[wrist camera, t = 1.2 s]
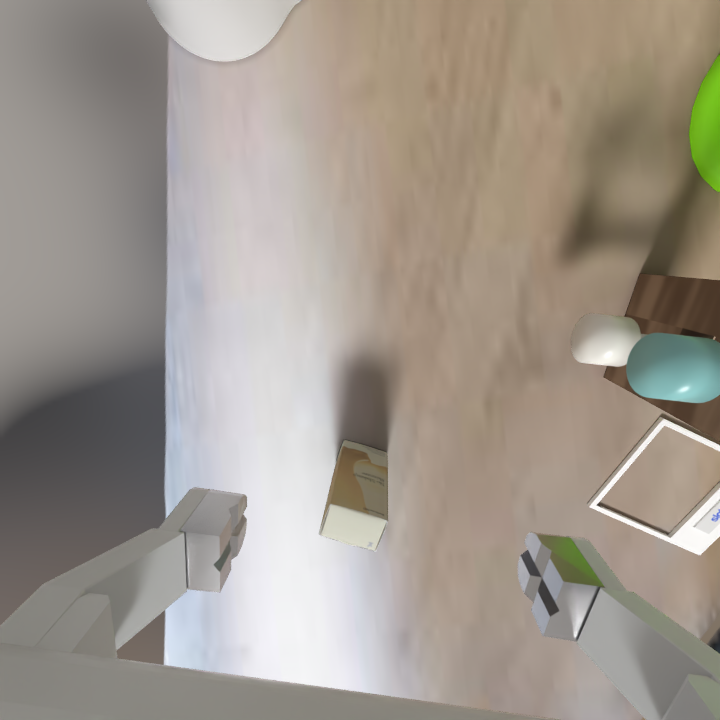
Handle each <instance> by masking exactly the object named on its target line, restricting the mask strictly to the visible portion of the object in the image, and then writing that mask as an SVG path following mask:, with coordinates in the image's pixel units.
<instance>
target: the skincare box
mask: <svg viewBox="0 0 720 720" xmlns="http://www.w3.org/2000/svg"><path fill="white" fill-rule="evenodd" d="M387 523H388V455H387V453H386V452H384V451H381V450H378V449H375V448H372V447H368V446H365V445H362V444H358V443H355V442H351V441H347V440H344V441H343V444H342V447H341V449H340V452H339V455H338V458H337V461H336V465H335V469H334V473H333V477H332V482H331V486H330V490H329V494H328V498H327V502H326V507H325V511H324V515H323V519H322V523H321V527H320V531H319V535H320V536H323V537H326V538H330V539H333V540H337V541H340V542H342V543H345V544H348V545H353V546H357V547H360V548H364V549H367V550H370V551H373V552H376V550H377V547H378V545H379V543H380V541H381V538H382V536H383V534H384V531H385V529H386V526H387Z"/></svg>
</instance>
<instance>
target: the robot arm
mask: <svg viewBox="0 0 720 720" xmlns="http://www.w3.org/2000/svg"><path fill="white" fill-rule="evenodd" d="M146 1H147V3H148V5H149V7H150V8H151V10H152V12H153V13H154V15H155V17H156V18H157V20H158V21H159V23H160V24H161V25H162V27H163V28H164V29H165V30H166V32H167V33H168V34H169V35H170V36H171V37H172V38H173V39H174V40H175V41H176V42H177V43H178V44H180V45H181V46H182V47H183V48H185V49H186V50H188V51H190V52H191V53H193V54H195V55H197V56H200V57H202V58H205V59H209V60H213V61H235V60H239V59H243V58H246V57H248V56H250V55H252V54H254V53H256V52H257V51H259V50H260V49H262V48H263V47H264V46H265V45H266V44H267V43H269V42H270V40H271V39H272V38H273V37H274V36H275V35H276V33H277V32H278V31H279V29H280V28H281V26H282V24H283V23H284V21H285V19H286V17H287V16H288V14H289V12H290V11H291V10H292V8H293V7H294V6H295V5H296V4H297V3H299V2H300V1H302V0H146ZM246 507H247V497H246V495H244V494H238V493H231V492H225V491H219V490H210V489H204V488H197V487H194V488H192V489H190V490H189V491H188V493H187V494H186V495H185V496H184V498H183V499H182V500H181V501H180V502H179V504H178V505H177V506H176V507H175V509H174V510H173V511H172V512H171V513H170V515H169V516H168V517H167V518H166V520H165V521H164V522H163V524H162V525H161V526H160V527H159V528H158V529H153V528H152V529H150V530H148V531H146V532H144V533H143V534H140V535H139V536H137V537H135V538H133V539H131V540H129V541H127V542H125V543H123V544H121V545H119V546H117V547H115V548H113V549H111V550H109V551H107V552H105V553H103V554H101V555H99V556H97V557H95V558H93V559H91V560H90V561H88V562H86V563H84V564H82V565H80V566H78V567H76V568H74V569H72V570H70V571H68V572H66V573H64V574H62V575H60V576H58V577H56V578H54V579H52V580H51V581H48V582H47V583H45V584H43V585H42V586H41V587H40V588H39V589H38V590H36V591H35V593H33V594H32V596H31V597H29V598H28V599H27V600H26V601H25V602H24V603H23V604H22V605H21V606H20V607H19V608H18V609H17V610H16V611H15V612H14V613H13V614H12V615H11V616H10V617H9V618H8V619H7V620H6V621H5V622H4V623H3V624H2V625H1V626H0V720H559V719H552V718H545V717H537V716H530V715H523V714H515V713H508V712H500V711H493V710H486V709H478V708H471V707H464V706H456V705H449V704H442V703H435V702H427V701H420V700H413V699H406V698H399V697H391V696H384V695H377V694H370V693H363V692H355V691H348V690H341V689H334V688H327V687H319V686H312V685H305V684H298V683H290V682H283V681H276V680H268V679H261V678H254V677H247V676H239V675H232V674H225V673H218V672H210V671H203V670H196V669H189V668H181V667H174V666H167V665H159V664H151V663H144V662H138V661H130V660H123V659H117V652H116V650H117V649H119V648H120V647H121V646H122V645H123V644H125V643H126V642H127V641H128V640H129V639H131V638H132V637H133V636H134V635H135V634H137V633H138V632H139V631H140V630H141V629H142V628H144V627H145V626H146V625H147V624H148V623H150V622H151V621H152V620H153V619H154V618H156V617H157V616H158V615H159V614H160V613H162V612H163V611H164V610H165V609H166V608H168V607H169V606H170V605H171V604H172V603H174V602H175V601H176V600H177V599H178V598H180V597H181V596H182V595H183V594H184V593H185V592H187V589H190V590H199V591H209V592H219V593H220V592H221V589H222V587H223V585H224V583H225V581H226V579H227V577H228V575H229V573H230V570H231V560H232V559H233V558H234V557H236V556H237V555H238V553H239V551H240V549H241V547H242V544H243V540H244V537H245V532H246V522H247V519H246V518H245V516H244V515H243V513H244V511H245V509H246ZM525 545H526V547H527V549H528V550H527V551H525V552H524V553H523V554H521V555H520V559H519V562H518V577H519V581H520V585H521V587H522V590H523V592H524V594H525V595H526V596H527V597H528V598H529V599H530V600H531V601H533V605H532V609H531V611H532V613H533V615H534V617H535V620H536V622H537V624H538V626H539V629H540V631H541V633H542V635H543V636H545V637H551V638H557V639H564V640H570V641H576V642H577V645H578V646H579V647H580V648H581V649H582V650H583V651H584V652H585V653H586V654H587V656H588V657H589V658H590V659H591V660H592V661H593V662H594V663H595V664H596V665H597V667H598V668H599V669H600V670H601V671H602V672H603V673H604V674H605V675H606V676H607V678H608V679H609V680H610V681H611V682H612V683H613V684H614V685H615V686H616V687H617V688H618V690H619V691H620V692H621V693H622V694H623V695H624V696H625V697H626V698H627V699H628V701H629V702H630V703H631V704H632V705H633V706H634V707H635V708H636V709H637V710H638V712H639V713H640V714H641V715H642V716H643V717H644V718H645V719H646V720H720V654H719V653H718V652H716V651H715V650H713V649H712V648H711V647H709V646H708V645H706V644H705V643H703V642H702V641H701V640H699V639H698V638H697V637H695V636H694V635H692V634H691V633H690V632H688V631H687V630H685V629H684V628H683V627H681V626H680V625H679V624H677V623H676V622H674V621H673V620H672V619H670V618H669V617H667V616H666V615H665V614H663V613H662V612H660V611H659V610H658V609H656V608H655V607H653V606H652V605H651V604H649V603H648V602H646V601H645V600H644V599H642V598H641V597H640V596H638V595H637V594H635V593H634V592H629V591H627V590H626V589H625V587H624V586H623V585H622V584H621V582H620V581H619V580H618V578H617V577H616V576H615V574H614V573H613V572H612V570H611V569H610V568H609V566H608V565H607V564H606V562H605V561H604V560H603V558H602V557H601V556H600V554H599V553H598V552H597V550H596V549H595V548H594V546H593V545H592V544H591V542H590V541H588V540H587V539H585V538H580V537H571V536H559V535H551V534H543V533H535V532H530V533H529V534H528V535H527V537H526V540H525Z"/></svg>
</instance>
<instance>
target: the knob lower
mask: <svg viewBox="0 0 720 720" xmlns="http://www.w3.org/2000/svg"><path fill="white" fill-rule="evenodd" d="M646 335H647V334H641V332H640V328H639V326H638V324H637V323H636V321H635V320H633V319H632V318H629V317H622V316H613V315H604V314H595V313H589V314H586V315H584V316H583V317H582V318H581V319H580V320H579V321H578V322H577V324H576V325H575V327H574V330H573V333H572V337H571V351H572V354H573V356H574V358H575V359H576V360H577V361H578V362H581V363H588V364H597V365H606V366H615V367H620V366H624V365H626V364H627V360H628V356H629V354H630V352H631V350H632V348H633V347H634V345H635V344H636V343H637V342H638V341H639V340H640V339H641V338H643V337H644V336H646Z"/></svg>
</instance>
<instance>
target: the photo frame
mask: <svg viewBox="0 0 720 720" xmlns="http://www.w3.org/2000/svg"><path fill="white" fill-rule="evenodd" d="M664 425H665V426H667V427H669V428H671V429H674V430H676V431H678V432H680V433H682V434H684V435H686V436H688V437H691V438H693V439H695V440H697V441H699V442H701V443H703V444H705V445H707V446H710V447H712V448H714V449H716V450H718V451H720V445H719V444H716V443H714V442H712V441H710V440H708V439H706V438H704V437H702V436H700V435H697V434H695V433H693V432H691V431H689V430H687V429H685V428H683V427H681V426H679V425H676V424H674V423H672V422H670V421H668V420H666V419H664V418H662V417H659V419H658V420H657V421H656V422H655V423H654V425H653V426H652V427H651V428H650V429H649V431H648V432H647V433H646V434H645V435H644V437H643V438H642V439H641V440H640V441H639V443H638V444H637V445H636V446H635V447H634V449H633V450H632V451H631V452H630V453H629V454H628V456H627V457H626V458H625V459H624V460H623V462H622V463H621V464H620V465H619V466H618V468H617V469H616V470H615V471H614V472H613V474H612V475H611V476H610V477H609V478H608V480H607V481H606V482H605V483H604V484H603V486H602V487H601V488H600V489H599V490H598V492H597V493H596V494H595V495H594V496H593V498H592V499H591V500H590V501H589V502H588V503H587V505H588V506H589V507H590V508H592V509H595V510H597V511H599V512H601V513H604V514H606V515H608V516H611V517H613V518H615V519H617V520H620V521H622V522H624V523H627V524H629V525H631V526H633V527H636V528H638V529H640V530H643V531H645V532H647V533H649V534H652V535H654V536H656V537H659V538H661V539H663V540H665V541H668V542H670V543H672V544H675V545H677V546H679V547H681V548H684V549H686V550H688V551H691V552H693V553H695V554H697V555H701V554H702V553H703V552H704V551H705V550H706V549H707V548H708V547H709V546H710V545H711V544H712V543H713V542H714V541H715V540H716V539H717V538H718V537H719V536H720V482H719V483H718V484H717V485H716V486H715V487H714V488H713V489H712V490H711V491H710V492H709V493H708V494H707V495H706V496H705V497H704V498H703V499H702V500H701V501H700V503H699V504H698V505H697V506H696V507H695V508H694V509H693V510H692V511H691V512H690V513H689V514H688V515H687V516H686V517H685V518H684V519H683V520H682V521H681V522H680V523H679V524H678V525H677V526H676V527H675V528H674V529H673V530H672V531H671V532H670V533H669V535H666V534H664V533H662V532H659V531H657V530H655V529H653V528H650V527H648V526H646V525H643V524H641V523H639V522H637V521H634V520H632V519H630V518H628V517H625V516H623V515H621V514H618V513H616V512H614V511H612V510H609V509H607V508H605V507H602V506H601V507H602V508H601V507H599V506H597V504H598V503H599V501H600V500H601V499H602V498H603V497H604V496H605V494H606V493H607V492H608V491H609V490H610V489H611V487H612V486H613V485H614V484H615V483H616V482H617V480H618V479H619V478H620V477H621V476H622V474H623V473H624V472H625V471H626V470H627V469H628V467H629V466H630V465H631V464H632V463H633V462H634V460H635V459H636V458H637V457H638V456H639V455H640V453H641V452H642V451H643V450H644V449H645V447H646V446H647V445H648V444H649V443H650V442H651V440H652V439H653V438H654V437H655V436H656V435H657V433H658V432H659V431H660V430H661V429H662V428H663V426H664Z"/></svg>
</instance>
